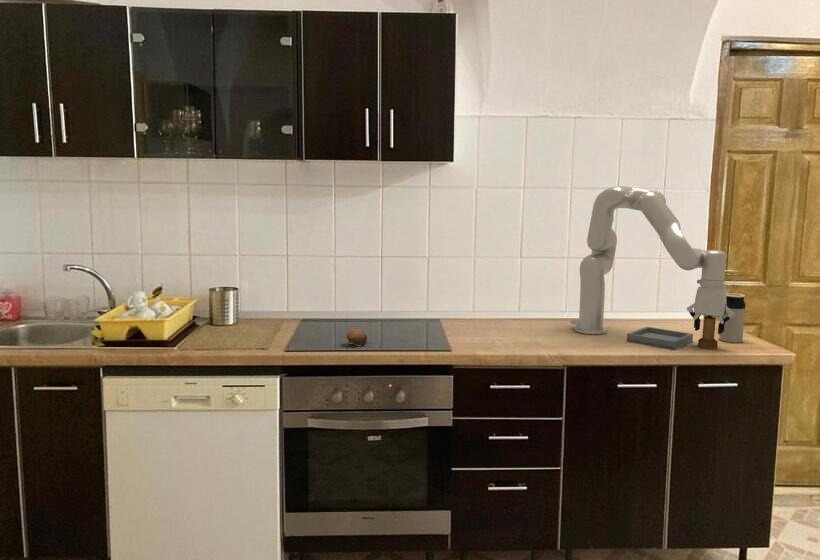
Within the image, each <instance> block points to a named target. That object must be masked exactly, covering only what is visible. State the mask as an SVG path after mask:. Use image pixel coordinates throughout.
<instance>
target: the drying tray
mask: <svg viewBox="0 0 820 560" xmlns="http://www.w3.org/2000/svg"><path fill="white" fill-rule="evenodd" d="M693 338H694V333H691V332H684V331H677V330H670V329H666V328H665V329H663V328H657V327H652V326H645V327H642V328H639V329H636V330H634V331H631V332H629V333H627V334H626V342H628V343H633V344H639V345H644V346H649V347H650V346H651V347H656V348H661V349H667V350H673V351H676V350H678V349H680V348H682V347H684V346H686V345H688V344H690V343H693V340H694V339H693Z"/></svg>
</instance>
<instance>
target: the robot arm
mask: <svg viewBox="0 0 820 560" xmlns="http://www.w3.org/2000/svg"><path fill="white" fill-rule="evenodd" d="M617 209H628V210H629V209H630V210H633V211H634V210H635V211H640V212H641V213H642V214H643V215H644V217H645V218H646V220H647V221H648V222H649V224H650V226H652V228H653V229H654V230H655V232H656V233H657V235H658V237H659V239H660V241H661V242H662V244H663V246H664V248H665V249H666V251H667V253H668V255H669V256H670V257H671V258H672V259H673V261H674V262H675V264H676V265H677V266H678V267H679V268H680V269H682V270H684V271H692V270H695V269H701V276H700V277H701V278H700V279H697V281H696V284H699V286H698V287H697V289H696V293H695V298H694V303H692V304H690V305H689V306H687V307H686V310H687V311H688V313H689V315H690V316H691V317H692V319H693V320H694V321H693V322H694V323H693V328H694V331H700V330H701V318H700V317H701V316H707V315H708V316H712V317H714V318H717V319H718V320H719V323H718V327H717V334H718V335H719V334H722V333H723V332H724V327H725V322H727V321H728V320H729V319H730V318H732V317H733V316H734V315H735V313H734V312H733V311H732V310H731V309H729V308H728V307H727V299H726V293H727V291H726V288H724V286H725V275H726V274H725V273H726V272H725V271H726V262H727V253H726V252H725V251H724V250H717V249H709V250H708V249H702V248H701V249H700V248H695V247H694V248H693V247H692V246H691V245H690V243H689V242H688V240H687V239H686V238H685V236H684V235H683V232H682V228H681V224H680V221H679V219H678V218H677V217H676V215H675V214H674V213H673V212H672V210H671V209H670V208H669V206H668V204H667V200H666V197H665V195H664V194H663V193H661V192H660V191H657V190H649V189H642V188H638V187H632V186H623V185H619V186H618V185H616V186H612V187H609V188H607V189H603V191H601V192H600V193H599V194H598V195H597V196H596V197H595V200H594V203H593V204H592V211H591V217H590V223H589V226H588V227H589V228H588V232H587V233H588V234H587V236H586V237H587V239H586V244H587V247H588V248H589V249H590V250H591V254H589V255H587V256H585V257H584V258H583V259H582V260H581V262H580V264H579V279H580V284H579V285H580V288H579V291H580V293H579V313H578V317H579V318H571V319H570V324H571V325H575V327H574V331H575V332H577V333H580V334H585V335H605V334H606V333H607V332H608V330H607V328H605V327H604V317H605V315H604V313H605V296H606V294H605V292H606V283H605V275H607V274H608V273H609V272H611V271H612V268H613V264H614V260H615V254H616V249H617V242H618V238H617V234H616V232H615V230H613V228H612V227H613V223H614V220H615V219H614V218H615V217H614V213H615V210H617ZM726 312H727V313H728V314H729V315H728V316H727V317H726V318H725V317H724V315H725V314H726ZM708 316H707V317H708Z"/></svg>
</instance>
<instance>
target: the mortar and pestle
mask: <svg viewBox="0 0 820 560" xmlns="http://www.w3.org/2000/svg"><path fill="white" fill-rule="evenodd" d="M716 320H717V317H715V316H708V315H706V316H704V317H703V324H702V337H701V338H699V339H698V340H697V347H698V348H701V349H705V350H716V349H718V341H717V339H715V332H716Z"/></svg>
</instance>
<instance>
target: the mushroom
mask: <svg viewBox="0 0 820 560" xmlns="http://www.w3.org/2000/svg"><path fill="white" fill-rule="evenodd" d="M346 339H347V341H348V344H350V343H352V344H353V346H356V347H360V346H359V345H363V346H364V345H366V344H367V341H368V336H367V334H366V332H364V331H363V330H362V329H360V328H353V329H350V330H349V331H348V332H347V333H346ZM352 344H351V345H352Z"/></svg>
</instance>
